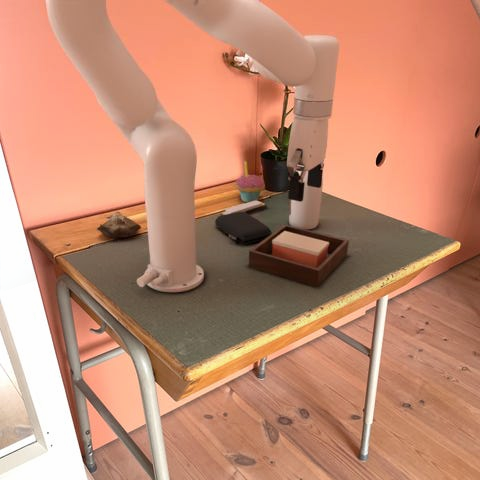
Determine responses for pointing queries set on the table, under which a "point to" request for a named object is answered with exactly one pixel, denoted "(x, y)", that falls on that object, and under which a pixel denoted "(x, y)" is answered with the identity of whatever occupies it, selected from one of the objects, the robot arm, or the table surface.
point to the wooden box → (293, 269)
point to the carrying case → (243, 227)
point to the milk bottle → (306, 207)
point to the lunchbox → (300, 249)
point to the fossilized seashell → (119, 226)
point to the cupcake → (249, 186)
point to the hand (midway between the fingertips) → (305, 193)
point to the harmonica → (246, 208)
